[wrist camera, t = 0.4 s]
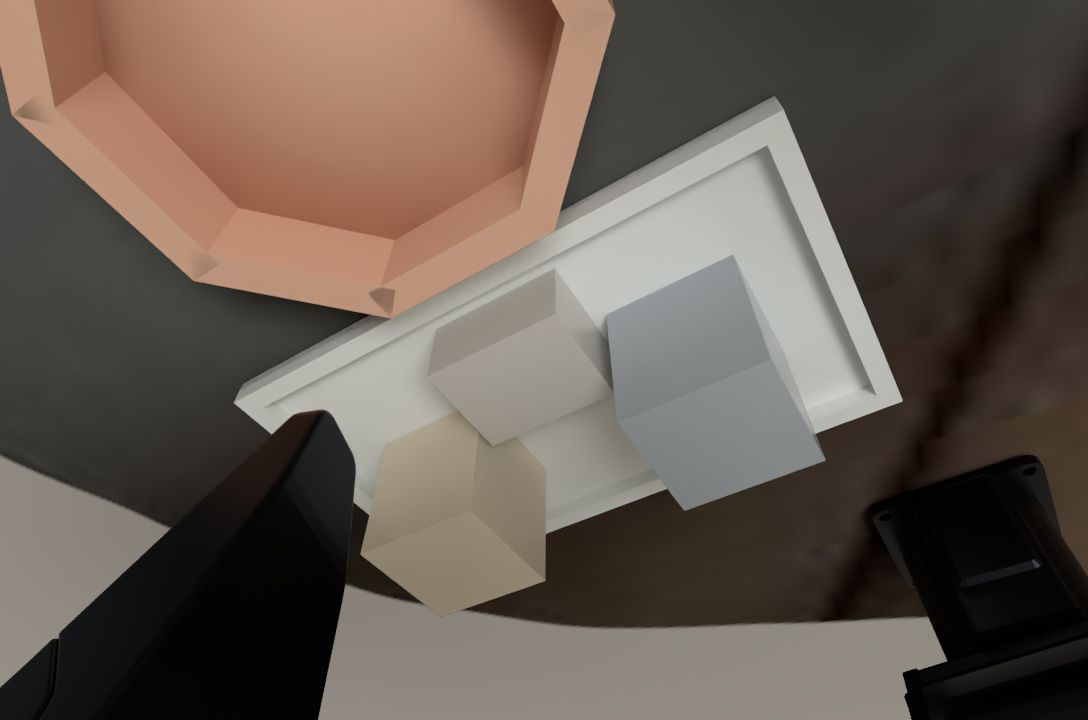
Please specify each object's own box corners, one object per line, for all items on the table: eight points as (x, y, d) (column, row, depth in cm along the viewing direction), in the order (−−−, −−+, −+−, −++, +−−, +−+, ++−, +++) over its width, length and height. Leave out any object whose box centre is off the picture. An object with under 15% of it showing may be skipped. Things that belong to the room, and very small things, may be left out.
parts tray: (892, 381, 26) (903, 400, 25) (442, 554, 33) (439, 573, 32) (774, 95, 20) (783, 109, 19) (243, 383, 26) (233, 402, 26)
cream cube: (546, 469, 29) (545, 581, 25) (454, 506, 30) (440, 617, 26) (482, 399, 26) (470, 510, 22) (386, 443, 28) (360, 554, 24)
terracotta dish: (673, 111, 20) (690, 159, 18) (317, 312, 24) (292, 371, 22) (357, -512, 13) (315, -568, 11) (-65, -69, 17) (-160, -41, 15)
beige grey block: (610, 345, 25) (614, 393, 23) (496, 397, 26) (492, 446, 24) (555, 268, 23) (555, 314, 21) (436, 329, 24) (426, 376, 22)
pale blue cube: (783, 349, 25) (826, 460, 21) (664, 399, 26) (684, 510, 22) (733, 254, 22) (771, 359, 18) (606, 314, 24) (617, 423, 20)
